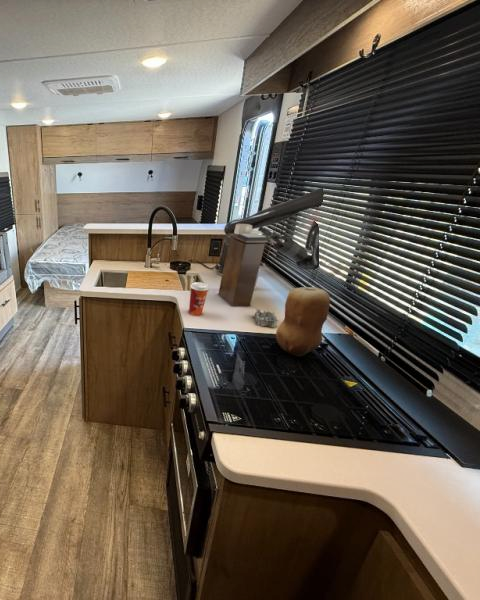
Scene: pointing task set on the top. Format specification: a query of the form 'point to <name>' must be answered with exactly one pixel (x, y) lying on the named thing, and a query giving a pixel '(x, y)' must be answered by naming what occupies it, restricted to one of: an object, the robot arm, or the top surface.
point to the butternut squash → (303, 320)
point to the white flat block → (245, 229)
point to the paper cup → (197, 298)
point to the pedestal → (240, 270)
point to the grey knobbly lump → (265, 318)
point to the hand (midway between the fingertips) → (261, 229)
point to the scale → (252, 237)
